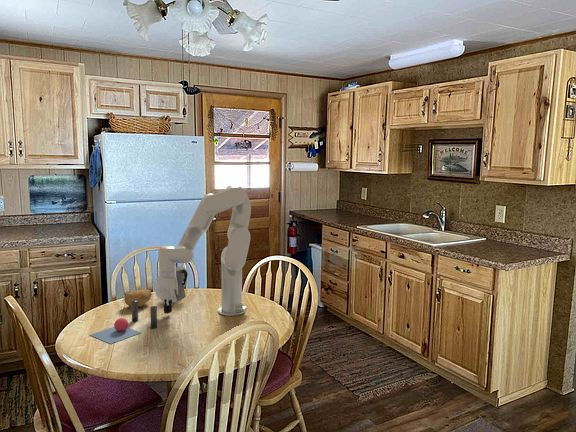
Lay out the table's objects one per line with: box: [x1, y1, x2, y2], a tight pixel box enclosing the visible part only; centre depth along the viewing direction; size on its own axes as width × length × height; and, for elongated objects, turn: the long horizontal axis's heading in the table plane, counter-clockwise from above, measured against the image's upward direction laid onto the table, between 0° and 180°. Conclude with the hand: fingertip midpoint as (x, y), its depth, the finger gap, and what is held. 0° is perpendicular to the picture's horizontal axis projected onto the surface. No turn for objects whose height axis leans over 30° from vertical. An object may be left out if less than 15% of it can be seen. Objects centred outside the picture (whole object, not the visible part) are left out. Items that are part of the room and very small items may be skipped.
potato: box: [123, 288, 152, 308], centre depth 214 cm, size 10×14×8 cm
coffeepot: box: [176, 263, 188, 300], centre depth 228 cm, size 15×9×18 cm, turn 51°
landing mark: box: [89, 326, 142, 345], centre depth 180 cm, size 14×14×1 cm
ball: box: [113, 317, 129, 332], centre depth 183 cm, size 6×6×6 cm
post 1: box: [131, 300, 139, 323], centre depth 195 cm, size 3×3×9 cm
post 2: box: [149, 305, 158, 330], centre depth 188 cm, size 3×3×9 cm
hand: (167, 312), depth 202 cm, fingers closed
